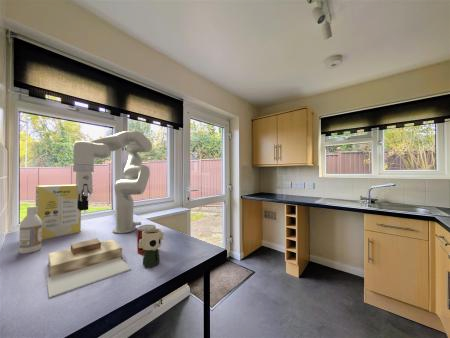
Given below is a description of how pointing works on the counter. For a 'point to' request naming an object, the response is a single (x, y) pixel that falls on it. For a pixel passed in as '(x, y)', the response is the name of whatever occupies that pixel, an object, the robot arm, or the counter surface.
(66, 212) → the pasta box
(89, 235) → the counter surface
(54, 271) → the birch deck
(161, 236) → the character mug
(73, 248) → the walnut tile
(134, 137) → the robot arm
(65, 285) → the cream mat
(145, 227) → the canned food
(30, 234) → the bath foam
